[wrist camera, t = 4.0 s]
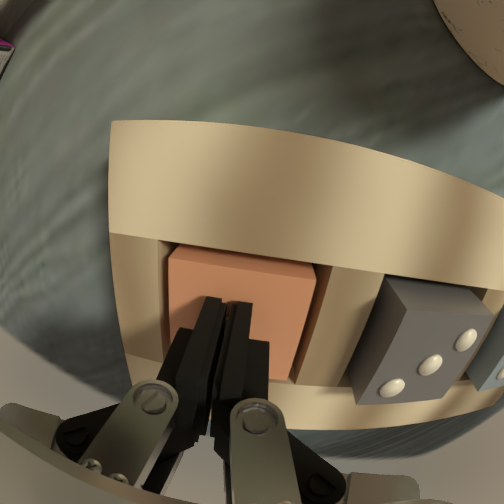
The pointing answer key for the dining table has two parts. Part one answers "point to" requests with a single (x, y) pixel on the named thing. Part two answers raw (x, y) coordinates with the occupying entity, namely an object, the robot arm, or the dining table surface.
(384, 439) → the dining table surface
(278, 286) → the key one
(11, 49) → the candy bar box
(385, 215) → the wooden puzzle board
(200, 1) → the dining table surface
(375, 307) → the key three
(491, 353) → the key two
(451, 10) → the teacup with lid
